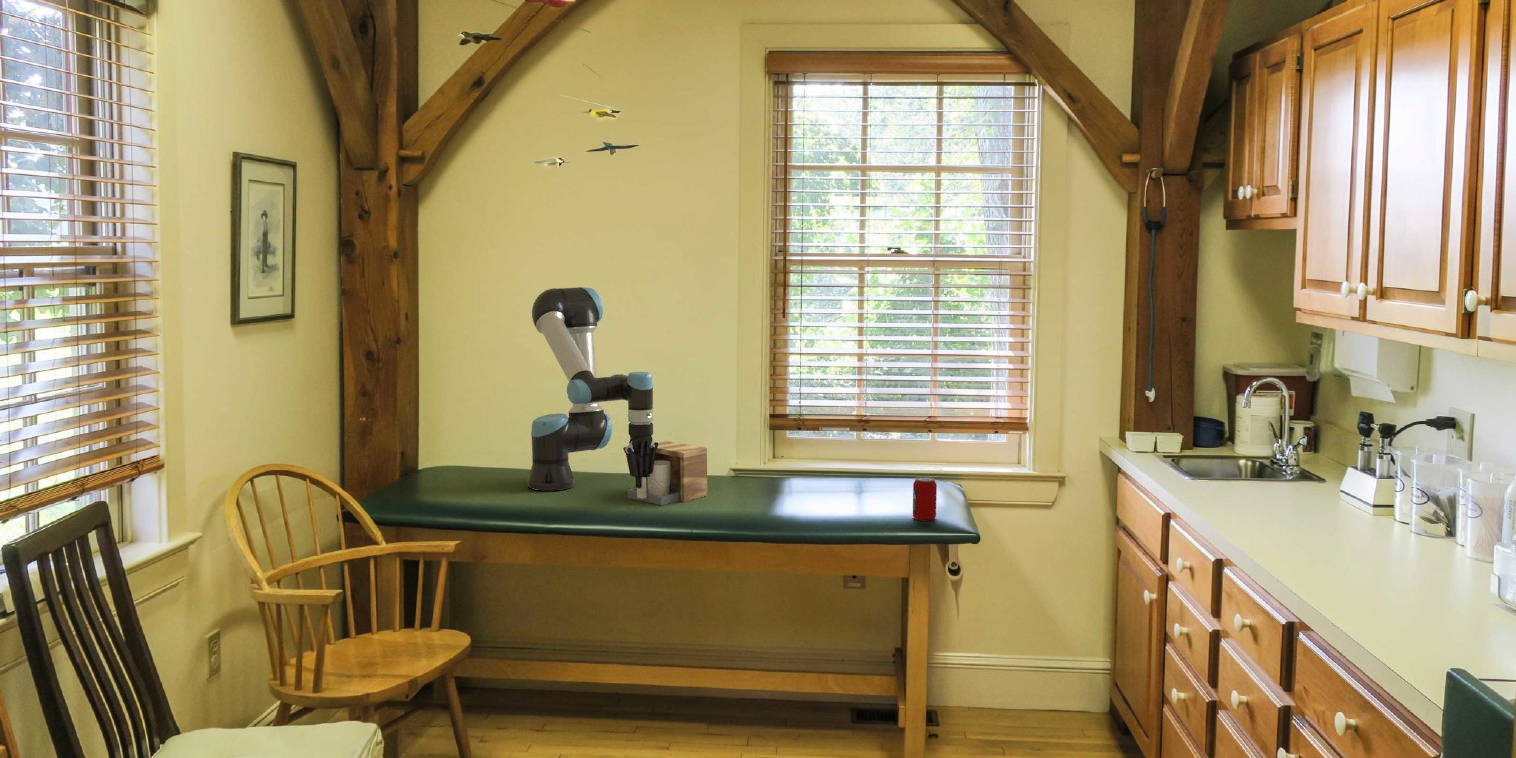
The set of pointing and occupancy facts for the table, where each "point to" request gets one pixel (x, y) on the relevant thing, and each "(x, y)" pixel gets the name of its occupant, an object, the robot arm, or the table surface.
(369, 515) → the table surface
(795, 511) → the table surface
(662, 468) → the white cup
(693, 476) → the wooden crate
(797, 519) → the table surface
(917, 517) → the beverage can
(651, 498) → the tray
